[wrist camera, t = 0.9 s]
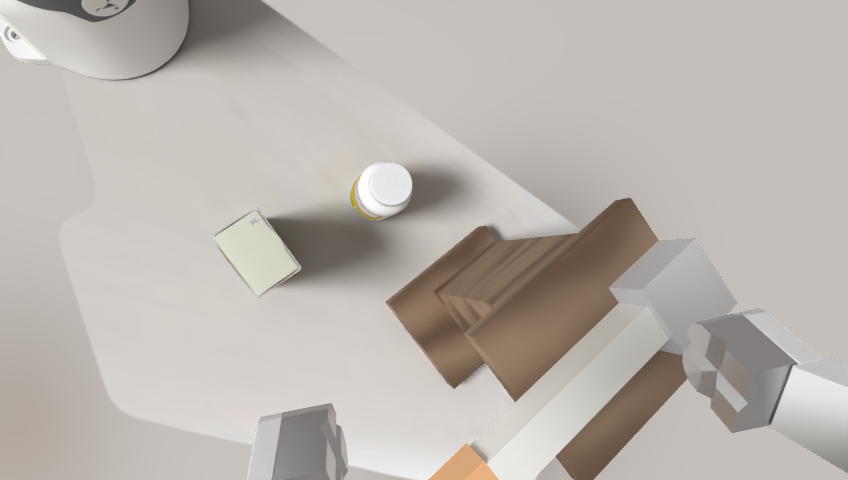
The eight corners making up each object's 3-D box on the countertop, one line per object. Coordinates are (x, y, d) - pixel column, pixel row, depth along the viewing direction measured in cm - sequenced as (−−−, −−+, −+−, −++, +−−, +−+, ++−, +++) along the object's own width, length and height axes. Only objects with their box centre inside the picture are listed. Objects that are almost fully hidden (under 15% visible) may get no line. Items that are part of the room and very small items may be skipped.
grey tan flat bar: (388, 494, 26) (400, 523, 23) (658, 240, 31) (695, 238, 29) (441, 559, 26) (460, 596, 24) (697, 299, 32) (737, 302, 29)
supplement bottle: (395, 172, 54) (417, 153, 44) (399, 219, 53) (423, 210, 44) (347, 174, 52) (359, 155, 43) (351, 223, 52) (365, 214, 43)
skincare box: (226, 241, 48) (206, 233, 37) (263, 217, 49) (255, 202, 38) (264, 291, 49) (256, 300, 37) (299, 267, 50) (303, 268, 39)
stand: (385, 302, 53) (473, 336, 28) (478, 227, 56) (630, 197, 31) (448, 384, 54) (585, 488, 29) (535, 306, 58) (723, 339, 33)
